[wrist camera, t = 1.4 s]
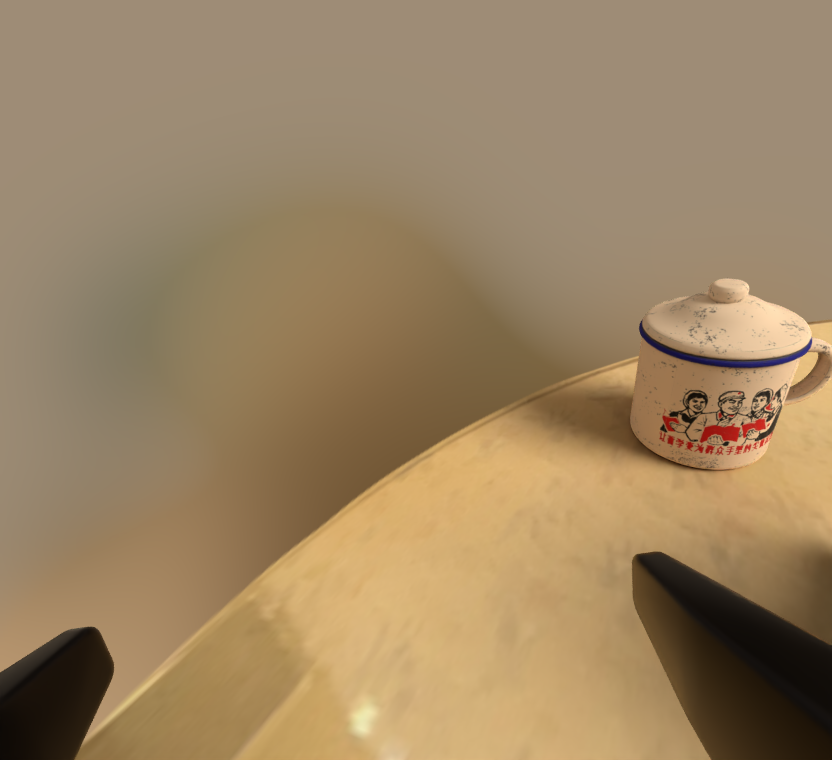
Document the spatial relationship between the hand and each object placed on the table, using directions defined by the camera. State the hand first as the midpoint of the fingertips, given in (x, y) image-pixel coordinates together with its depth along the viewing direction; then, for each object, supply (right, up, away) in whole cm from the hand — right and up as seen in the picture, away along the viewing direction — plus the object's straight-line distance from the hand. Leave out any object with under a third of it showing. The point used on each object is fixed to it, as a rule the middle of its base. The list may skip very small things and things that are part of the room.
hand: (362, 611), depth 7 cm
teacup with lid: (+23, 0, +24) cm, 34 cm away
